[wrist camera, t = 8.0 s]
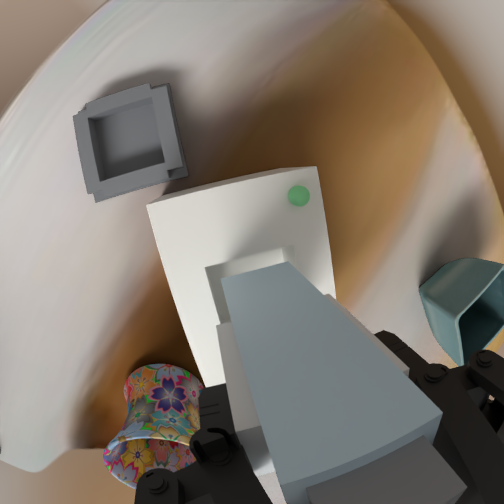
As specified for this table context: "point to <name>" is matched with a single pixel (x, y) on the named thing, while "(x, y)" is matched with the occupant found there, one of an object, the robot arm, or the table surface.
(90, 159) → the holster
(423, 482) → the plug
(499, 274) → the flower pot
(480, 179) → the table surface
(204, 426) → the robot arm
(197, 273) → the port panel
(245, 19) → the table surface
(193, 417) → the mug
